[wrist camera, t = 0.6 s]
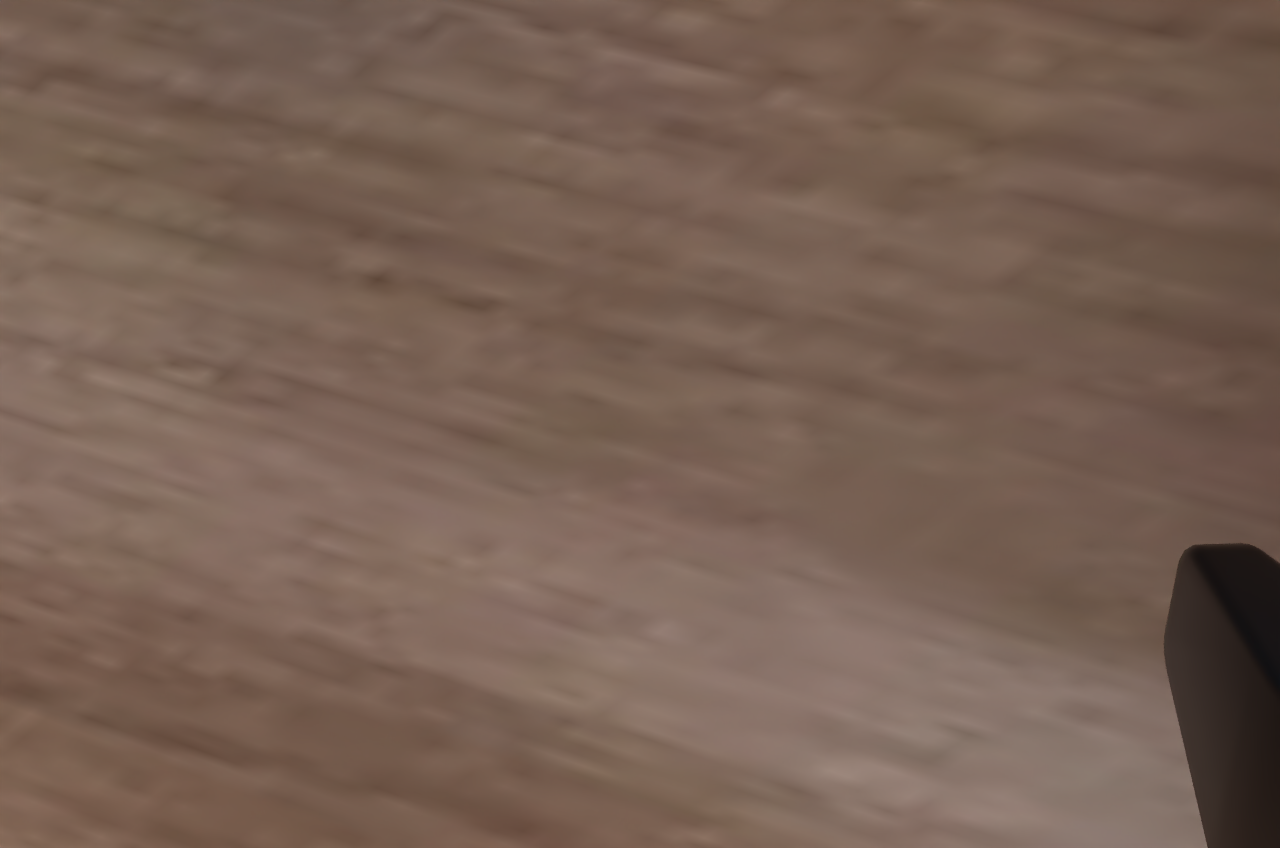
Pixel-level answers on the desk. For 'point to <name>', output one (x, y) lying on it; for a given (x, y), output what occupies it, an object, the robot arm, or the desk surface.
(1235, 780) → the robot arm
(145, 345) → the desk surface
